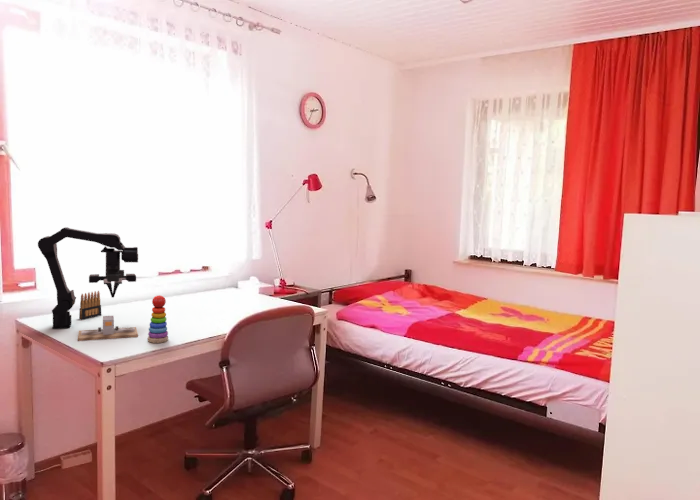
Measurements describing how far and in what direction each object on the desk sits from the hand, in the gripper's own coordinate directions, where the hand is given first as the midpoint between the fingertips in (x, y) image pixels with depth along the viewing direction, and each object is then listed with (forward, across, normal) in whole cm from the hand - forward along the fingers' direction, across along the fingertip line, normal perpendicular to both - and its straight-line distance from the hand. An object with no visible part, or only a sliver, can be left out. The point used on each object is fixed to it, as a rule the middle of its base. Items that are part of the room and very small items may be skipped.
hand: (112, 297), depth 228 cm
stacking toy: (+13, +16, -30) cm, 36 cm away
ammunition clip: (+13, -9, +17) cm, 23 cm away
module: (+12, -2, -16) cm, 20 cm away
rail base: (+12, -2, -16) cm, 20 cm away
